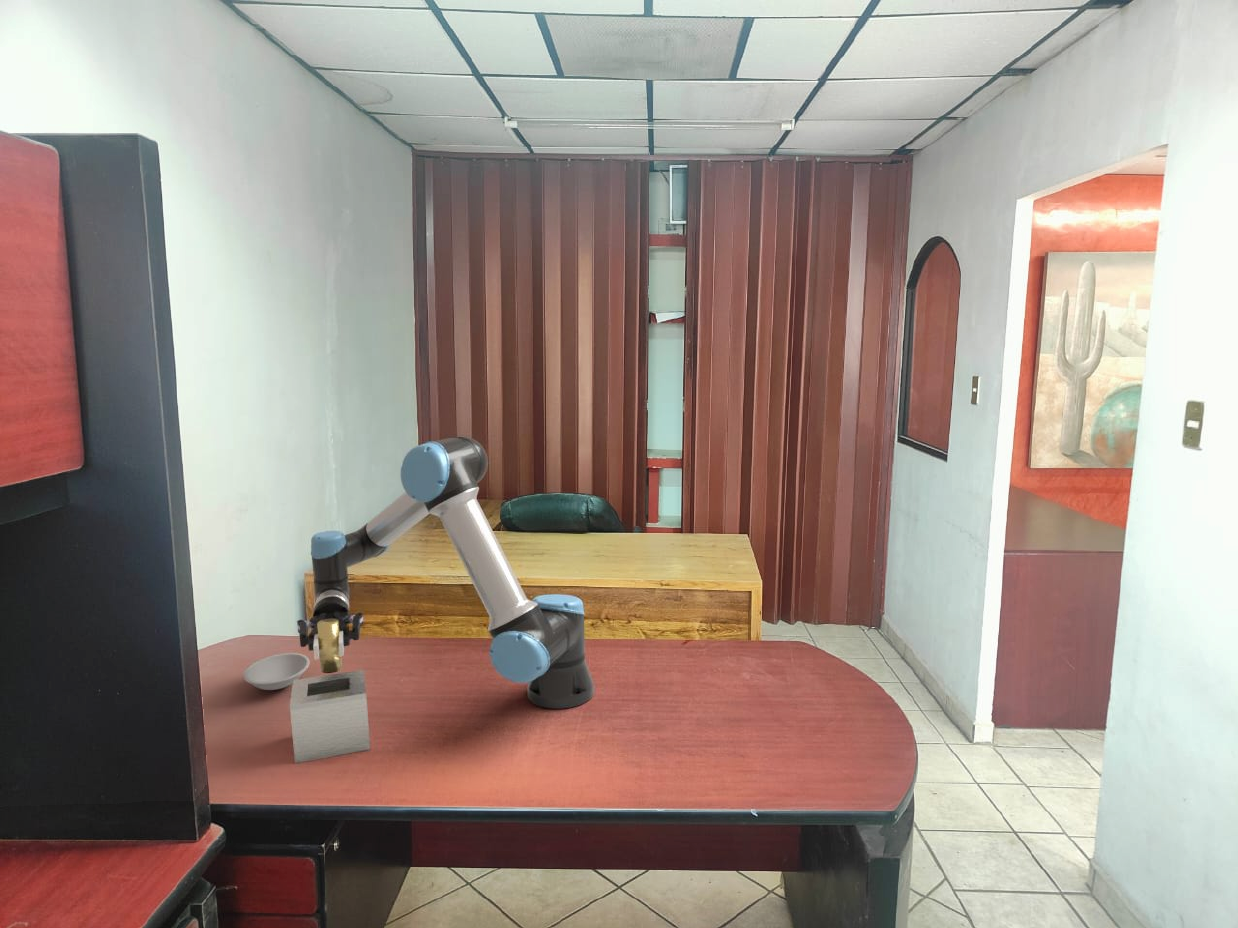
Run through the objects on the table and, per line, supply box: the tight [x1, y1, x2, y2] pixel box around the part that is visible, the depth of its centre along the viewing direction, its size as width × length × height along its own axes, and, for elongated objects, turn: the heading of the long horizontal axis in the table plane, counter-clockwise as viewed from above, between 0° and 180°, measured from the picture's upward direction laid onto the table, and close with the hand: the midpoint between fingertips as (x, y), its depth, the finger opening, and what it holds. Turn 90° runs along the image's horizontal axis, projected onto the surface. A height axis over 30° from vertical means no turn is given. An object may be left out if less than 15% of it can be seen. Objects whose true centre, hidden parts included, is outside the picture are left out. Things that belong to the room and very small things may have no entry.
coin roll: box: [317, 619, 343, 674], centre depth 158 cm, size 4×4×10 cm
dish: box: [242, 652, 311, 691], centre depth 186 cm, size 18×14×5 cm
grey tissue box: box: [289, 669, 371, 764], centre depth 159 cm, size 14×12×12 cm
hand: (328, 650), depth 153 cm, fingers closed on coin roll, 4 cm apart
